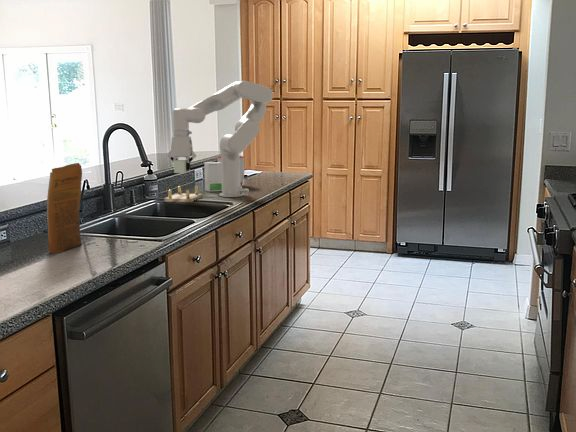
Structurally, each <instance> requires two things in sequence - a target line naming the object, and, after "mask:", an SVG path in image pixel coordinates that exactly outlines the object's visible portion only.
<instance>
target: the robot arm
mask: <svg viewBox="0 0 576 432" xmlns="http://www.w3.org/2000/svg"><path fill="white" fill-rule="evenodd" d="M273 98H274V93H273V90H272V89H271V88H270V87H269V86H266V85H263V84H259V83H255V82H251V81H247V80H237V81H234V82H232V83H230V84H229V85H227V86H225V87H224V88H222V89H220V90H219V91H217V92H215V93H213V94H211V95H210V96H208V97H206V98H205V99H202V100H201V101H198V102H197V103H195V104H194V105H192V106H190V107H189V108H186V107H183V108H182V107H180V108H179V107H176V108H173V109H172V129H173V136H172V137H171V143H170V144H171V145H170V151H169V152H168V154H166V156H167V158H169V159H170V160H171V161H172V163H174V160H178V159H179V158H185V159H186V161H187V163H186V171H189V169H190V170H191V163H192V161H193V160H194V159H196V157H197V154H196V152H194V151H193V149H194V148H193V141H192V136H190V135H192V131H191V130H190V123H191V124H201V123H203V122H204V121H205V119H206V116H208V115H209V114H212V113H214V112H217V111H221V110H223V109H226V108H228V107H229V106H231V105H233V104H234V103H235V102H237V101H239V100H240V99H246V100H250V105H249V108H248V109H247V111H246V112H245V113H244V114H243V115H242V116H241V118H240V119H239V120H238V121H237V122H236V123H235V125H234V133H227V134H224V135H223V136H222V137H221V138H220V140H219V151H220V156H221V163H222V191H221V192H219V194H218V196H220V197H223V198H236V197H237V198H238V197H243V196H244V194H247V193H249V191H250V190H249V188H243V186H242V185H241V184H240V156H241V155H240V154H241V153H242V152H244V151H245V150H246V148H248V146H249V145H250V144H251V143H252V142H253V141H254V140H255V138H256V137H257V136H258V134H259V132H260V126H259V124H260V122H261V121H262V120H263V119H264V117H265V115H266V112H267V104H269V103H271V101H272V100H273ZM189 172H190V171H189Z"/></svg>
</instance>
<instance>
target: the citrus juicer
mask: <svg viewBox="0 0 576 432" xmlns="http://www.w3.org/2000/svg"><path fill="white" fill-rule="evenodd" d="M239 156H240V184H241V186H242V185H243V182H244V177H245V156H244V155H239ZM216 159H217V162H221V155H219V156H216Z"/></svg>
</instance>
